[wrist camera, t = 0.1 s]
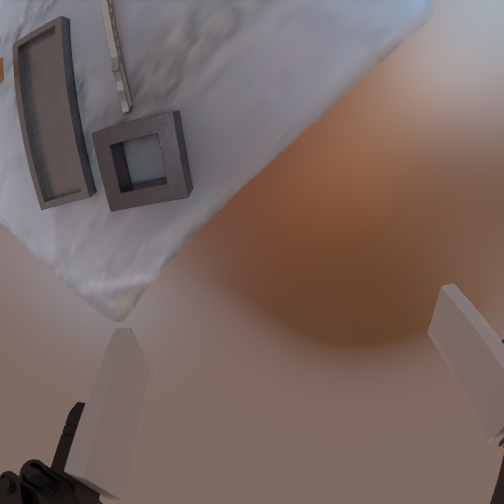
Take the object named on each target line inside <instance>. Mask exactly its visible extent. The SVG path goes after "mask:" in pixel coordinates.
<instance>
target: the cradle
mask: <svg viewBox="0 0 504 504" xmlns="http://www.w3.org/2000/svg"><path fill="white" fill-rule="evenodd" d="M13 64H14V78H15V89H16V98H17V105H18V112H19V119H20V125H21V131H22V136H23V141H24V146H25V151H26V155H27V159H28V164H29V168H30V172H31V176H32V179H33V183H34V187H35V190H36V194H37V197H38V200H39V204H40V207H41V210H44V209H47V208H51V207H55V206H58V205H62V204H66V203H70V202H73V201H77V200H81V199H85V198H89V197H91V196H92V195H93V194H95V193H96V192H97V191H96V187H95V184H94V180H93V176H92V172H91V168H90V163H89V159H88V155H87V150H86V146H85V141H84V136H83V131H82V126H81V120H80V114H79V108H78V102H77V96H76V89H75V81H74V73H73V64H72V53H71V40H70V20H69V19H68V18H66V17H63V16H60V17H58V18H56V19H54V20H52V21H51V22H49V23H47V24H45V25H43V26H42V27H40V28H38V29H36V30H35V31H33V32H31V33H30V34H28V35H26V36H25V37H23V38H22V39H20V40H19V41H17V42H15V43H14V44H13Z"/></svg>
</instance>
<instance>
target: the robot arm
mask: <svg viewBox="0 0 504 504" xmlns="http://www.w3.org/2000/svg"><path fill="white" fill-rule="evenodd" d="M428 334H429V336H430V338H431V339H432V341H433V342H434V344H435V346H436V347H437V349H438V351H439V352H440V354H441V355H442V357H443V359H444V360H445V362H446V364H447V366H448V367H449V369H450V371H451V373H452V374H453V376H454V378H455V380H456V381H457V383H458V385H459V387H460V388H461V390H462V392H463V394H464V396H465V398H466V399H467V401H468V403H469V405H470V407H471V409H472V411H473V413H474V415H475V417H476V419H477V421H478V423H479V425H480V427H481V429H482V431H483V433H484V436H485V438H486V440H487V442H488V443H489V442H491V441H492V440H494V439H496V438H497V437H499V436H500V435H502V434H503V433H504V340H502V341H501V340H500V339H499V337H498V336H497V335H496V333H495V332H494V331H493V330H492V328H491V327H490V326H489V324H488V323H487V322H486V321H485V319H484V318H483V317H482V316H481V315H480V313H479V312H478V311H477V310H476V309H475V307H474V306H473V305H472V304H471V303H470V301H469V300H468V299H467V298H466V297H465V296H464V295H463V293H462V292H461V291H460V290H459V289H458V288H457V287H456V285H455V284H450V285H446V286H442V287H441V289H440V293H439V296H438V300H437V303H436V307H435V311H434V314H433V317H432V320H431V323H430V326H429V330H428ZM152 372H153V371H152V369H151V367H150V365H149V363H148V361H147V359H146V358H145V355H144V354H143V351H142V350H141V348H140V346H139V343H138V342H137V339H136V337H135V335H134V333H133V331H132V329H131V328H123V329H115V331H114V333H113V335H112V338H111V340H110V343H109V345H108V347H107V350H106V352H105V354H104V357H103V359H102V362H101V364H100V367H99V369H98V372H97V375H96V377H95V379H94V382H93V385H92V387H91V390H90V393H89V395H88V398H87V401H86V403H81V402H77V403H76V405H75V406H74V407H73V408H72V410H71V411H70V412H69V415H68V418H67V420H66V426H64V429H63V434H62V435H61V438H60V441H59V444H58V447H57V450H56V453H55V456H54V459H53V463H52V465H51V468H49V467H48V466H46V465H45V464H43V463H42V462H41V461H40V460H35V459H33V460H29V461H27V462H26V463H25V464H24V465H23V466H22V468H21V470H20V475H19V476H20V477H19V476H18V475H16V474H14V473H13V472H12V471H6V472H4V473H2V474H1V476H0V504H102V503H101V501H100V500H99V496H100V495H102V496H104V497H106V498H107V499H111V500H116V501H121V502H126V500H127V493H128V487H129V481H130V475H131V470H132V464H133V459H134V454H135V448H136V443H137V438H138V433H139V429H140V424H141V419H142V414H143V410H144V406H145V401H146V397H147V393H148V388H149V384H150V380H151V376H152ZM503 443H504V438H503V439H502V440H501V441H500V443H499V446H501V445H502V444H503ZM503 447H504V446H503ZM490 504H504V456H503V461H502V465H501V469H500V473H499V477H498V480H497V484H496V487H495V490H494V494H493V497H492V500H491V503H490Z"/></svg>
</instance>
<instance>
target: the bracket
mask: <svg viewBox="0 0 504 504" xmlns="http://www.w3.org/2000/svg"><path fill="white" fill-rule="evenodd" d="M100 4H101V9H102V15H103V20H104V26H105V31H106V36H107V41H108V45H109V50H110V55H111V59H112V72H114V74H115V81H116V85H117V89H118V94H119V97H120V103H121V106H122V112H123V113H126V112H130V111H131V109H132V107H133V106H132V99H131V95H130V91H129V87H128V82H127V78H126V73H125V68H124V64H123V59H122V54H121V49H120V44H119V39H118V33H117V28H116V22H115V16H114V10H113V3H112V0H100Z"/></svg>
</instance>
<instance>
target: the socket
mask: <svg viewBox="0 0 504 504" xmlns="http://www.w3.org/2000/svg"><path fill="white" fill-rule="evenodd" d="M155 133H158V137H159V143H160V148H161V153H162V159H163V164H164V169H165V174H166V177H165V178H159V179H154V180H149V181H144V182H139V183H134V184H132V183H131V179H130V175H129V170H128V166H127V161H126V157H125V152H124V147H123V142H122V141H126V140H130V139H134V138H138V137H142V136H146V135H151V134H155ZM92 136H93V141H94V146H95V151H96V155H97V160H98V164H99V168H100V172H101V176H102V180H103V184H104V188H105V192H106V196H107V199H108V203H109V207H110V210H111V212H112V211H117V210H122V209H127V208H132V207H138V206H143V205H148V204H154V203H160V202H166V201H172V200H178V199H184V198H188V197H189V195H190V193H191V191H192V189H193V185H192V180H191V175H190V169H189V164H188V158H187V152H186V147H185V141H184V135H183V129H182V123H181V117H180V111H174V112H169V113H164V114H160V115H155V116H151V117H147V118H143V119H139V120H135V121H131V122H128V123H124V124H120V125H117V126H113V127H110V128H107V129H103V130H100V131H97V132H94V133H92Z"/></svg>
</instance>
